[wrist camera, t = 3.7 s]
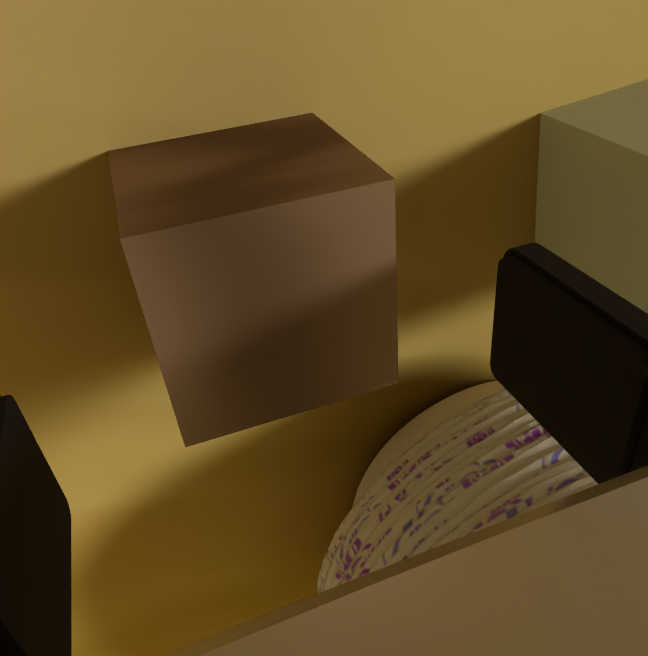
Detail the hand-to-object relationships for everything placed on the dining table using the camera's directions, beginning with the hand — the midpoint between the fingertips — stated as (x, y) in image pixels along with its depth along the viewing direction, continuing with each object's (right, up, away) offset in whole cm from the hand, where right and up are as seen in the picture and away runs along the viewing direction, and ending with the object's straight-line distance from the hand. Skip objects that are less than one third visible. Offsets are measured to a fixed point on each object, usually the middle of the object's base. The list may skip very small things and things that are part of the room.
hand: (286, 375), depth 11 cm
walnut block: (-2, +4, +4) cm, 6 cm away
